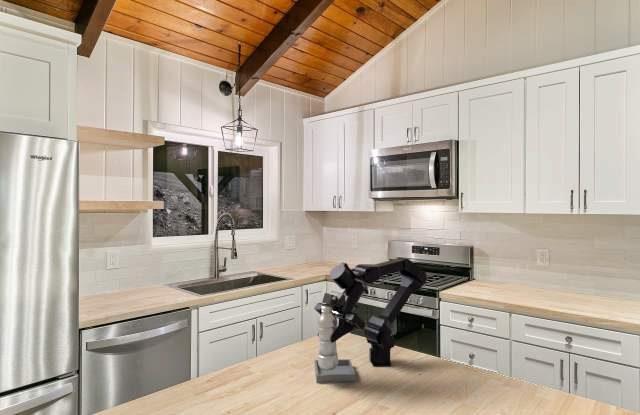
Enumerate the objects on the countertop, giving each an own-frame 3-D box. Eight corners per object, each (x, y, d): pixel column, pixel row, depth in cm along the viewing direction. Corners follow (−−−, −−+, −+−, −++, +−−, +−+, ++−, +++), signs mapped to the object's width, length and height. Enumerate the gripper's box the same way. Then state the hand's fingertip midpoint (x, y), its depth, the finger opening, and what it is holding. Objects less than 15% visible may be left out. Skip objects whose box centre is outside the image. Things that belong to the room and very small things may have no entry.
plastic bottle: (341, 365, 130) (340, 303, 129) (333, 374, 124) (332, 309, 123) (322, 362, 132) (321, 301, 131) (314, 371, 126) (313, 307, 125)
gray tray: (350, 365, 140) (350, 359, 139) (355, 381, 127) (355, 374, 127) (314, 366, 139) (314, 360, 139) (316, 382, 127) (316, 375, 127)
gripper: (318, 278, 137) (291, 318, 130) (357, 288, 122) (330, 333, 116) (335, 297, 142) (311, 336, 135) (376, 308, 128) (351, 353, 121)
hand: (324, 339), depth 127 cm, fingers closed on plastic bottle, 6 cm apart
